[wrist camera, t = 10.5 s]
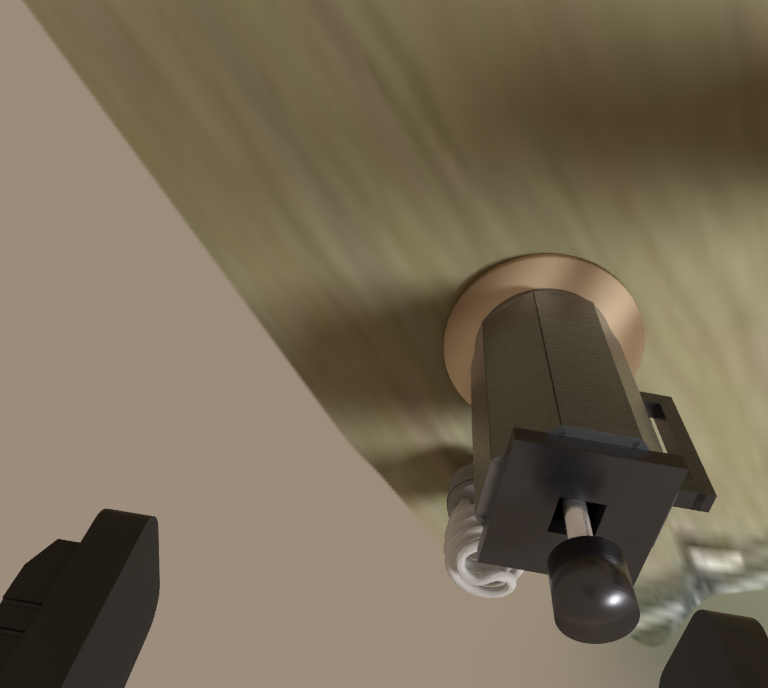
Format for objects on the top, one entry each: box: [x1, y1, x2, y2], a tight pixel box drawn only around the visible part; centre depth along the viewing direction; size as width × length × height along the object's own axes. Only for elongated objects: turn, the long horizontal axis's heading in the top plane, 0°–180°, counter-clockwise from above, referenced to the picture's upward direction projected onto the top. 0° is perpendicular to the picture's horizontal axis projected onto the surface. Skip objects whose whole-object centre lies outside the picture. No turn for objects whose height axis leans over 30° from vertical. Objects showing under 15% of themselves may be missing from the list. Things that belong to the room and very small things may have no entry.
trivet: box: [444, 254, 645, 405], centre depth 51 cm, size 14×14×1 cm
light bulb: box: [444, 462, 524, 598], centre depth 52 cm, size 6×6×12 cm
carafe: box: [470, 288, 717, 586], centre depth 44 cm, size 13×10×17 cm
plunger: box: [547, 497, 640, 644], centre depth 40 cm, size 7×7×20 cm
